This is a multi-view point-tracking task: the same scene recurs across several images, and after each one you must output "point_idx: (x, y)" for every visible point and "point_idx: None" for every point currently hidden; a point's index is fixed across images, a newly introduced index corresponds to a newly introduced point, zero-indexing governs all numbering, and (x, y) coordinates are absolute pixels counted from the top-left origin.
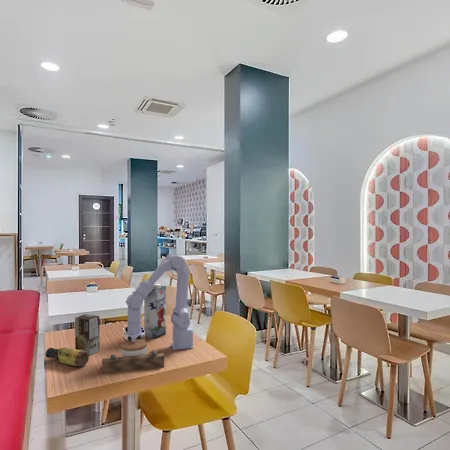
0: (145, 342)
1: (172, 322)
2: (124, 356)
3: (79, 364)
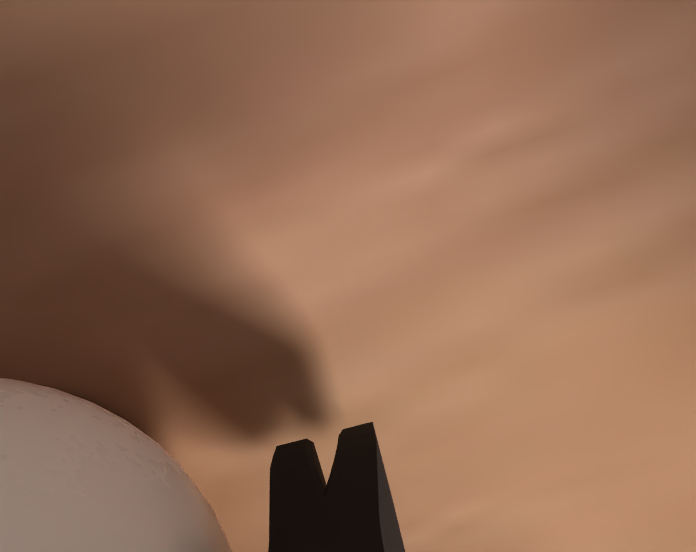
0: None
1: None
2: None
3: None
